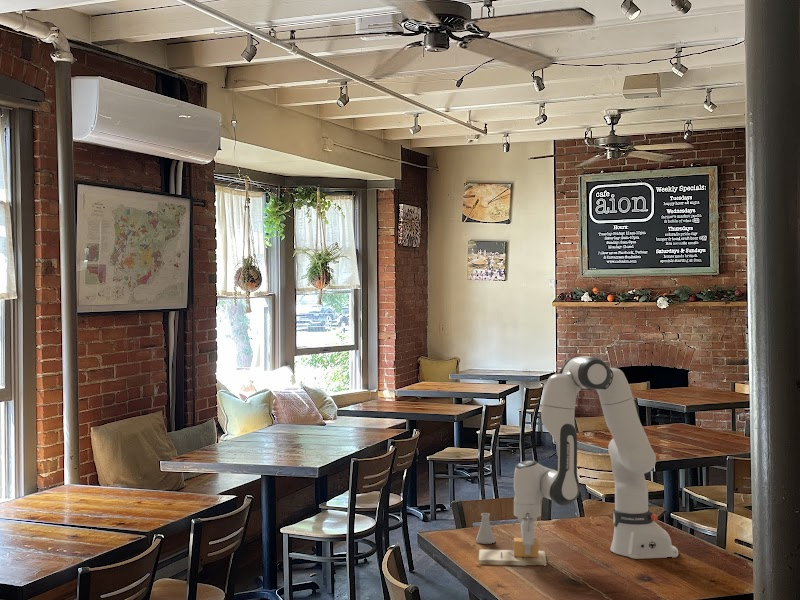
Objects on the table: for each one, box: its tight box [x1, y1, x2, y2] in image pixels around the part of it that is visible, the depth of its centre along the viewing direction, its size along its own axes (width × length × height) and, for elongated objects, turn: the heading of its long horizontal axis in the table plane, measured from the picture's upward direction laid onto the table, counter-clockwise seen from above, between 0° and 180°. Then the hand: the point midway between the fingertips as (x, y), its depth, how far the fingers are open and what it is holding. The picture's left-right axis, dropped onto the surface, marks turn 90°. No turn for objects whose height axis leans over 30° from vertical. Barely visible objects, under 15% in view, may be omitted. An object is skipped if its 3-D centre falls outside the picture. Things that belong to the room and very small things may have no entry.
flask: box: [475, 512, 496, 545], centre depth 333 cm, size 7×7×10 cm
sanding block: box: [513, 537, 539, 557], centre depth 311 cm, size 8×4×5 cm, turn 84°
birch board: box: [478, 548, 548, 567], centre depth 311 cm, size 22×12×2 cm, turn 84°
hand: (527, 551), depth 311 cm, fingers closed on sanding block, 4 cm apart
